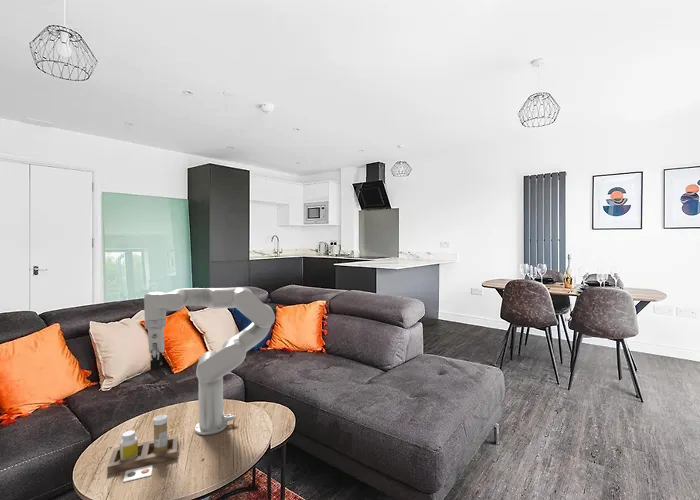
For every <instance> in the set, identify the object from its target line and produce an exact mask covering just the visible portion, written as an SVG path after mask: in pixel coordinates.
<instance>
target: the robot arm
mask: <svg viewBox="0 0 700 500" xmlns="http://www.w3.org/2000/svg"><path fill="white" fill-rule="evenodd" d="M143 297H144V298H143V302H144V303H143V304H144V305H143V306H144V312H143V313H144V329H146V330H148V331H147V333H148V334H147V339H148V340H147V341H148V352H149V355H150V361H149V363H150V364H149V365H150V371H159V370H160V369H161V363H162V362H163V360H162V359H163V356H162V354H164V351H165V329H164V328H165V327H167V311H169V312H170V311H173V312H174V311H180V310H181V309H183V308H184V307H189V306H190V307H191V306H194V307H195V306H198V307H199V306H200V307H206V308H209V309H234V308H236V310H237V311H239V312H240V313H241V314H242V315H243V316H244V317H245V318H247V319H248V320H250V321H251V322H250V324H249V325H248V326H247V327H245V328H243V330H241V331H239V332H238V333H236V334H235V335H233V336H232V337H230V338H228V339H227V340H225V341H224V342H223V344H222V347H221V349H219V350H218V351H214V350H209V351H205V352H204V353H202V355H201V356H200V357H199V359H198V362H197V366H196V372H195V375H196V377H197V378H196V379H198V423H197V424H196V425H195V427H194V430H195V433H196V434H198V435H201V436H202V435H203V436H210V435H211V436H212V435H215V434H218V433H220V432H222V431H224V430H225V429H226V428H227V427H228V422H229V421H230V422H231V421H235V420H236V415H235V414H234V415H233V414H232V413H228V414H225V412H224V376H226V375H228V374H229V373H231V372H232V371H233V370H234V369H236V368H237V367H239V366H240V365H241V364H243V362H244V360H245V358H246V355H247V352H248V351H250V350H251V349H252V348H254V347H255V346H257V345H258V344H259V343H260V342H262V341H263V340H264V339H265V338H266V337H267V336H268V334H269V332H270V330H271V327H272V326H273V324H274V323H275V320H276V314H275V312H274V309H272V307H271V306H270V304H267V303H264V302H262V301H261V300H260V299H259V298H258V297H257V296H256V295H255V294H254V293H253V291H252V290H251V289H250V288H248V287H244V286H243V287H239V286H238V287H210V288H209V287H207V288H205V287H203V288H199V287H195V288H194V287H193V288H192V287H191V288H177V289H174V290H172V291H170V292H164V291H163V292H162V291H151V292H147V293H145V294H144V296H143Z"/></svg>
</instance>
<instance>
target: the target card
mask: <svg viewBox="0 0 700 500" xmlns="http://www.w3.org/2000/svg"><path fill="white" fill-rule="evenodd" d="M153 466H154V464H151V465H146V466H142V467H138V468H133V469H129V470H125V473H124V476H123V477H124V478H123V481H122V483H127V482H131V481H134V480H139V479H143V478H147V477H151V476H152V473H153Z"/></svg>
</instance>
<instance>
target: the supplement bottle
mask: <svg viewBox="0 0 700 500" xmlns="http://www.w3.org/2000/svg"><path fill="white" fill-rule="evenodd" d="M138 442H139V441H138V437H137V436H136V431H135V430H131V429H130V430H128V431H127V430H126V431H125V432H123V433H122V435H121V441H120V442H119V447H120V457H119V461H123V460H128V459H132V458H137V457H139V453H138Z"/></svg>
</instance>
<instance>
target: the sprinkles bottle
mask: <svg viewBox="0 0 700 500" xmlns="http://www.w3.org/2000/svg"><path fill="white" fill-rule="evenodd" d="M152 419H153V420H152V421H153V423H152V425H153V440H154V452H153V454H155V453H160V452H165V451H169V450H168V447H167V437H168V415H167V414H160V415H156V416H155V417H154V418H152Z"/></svg>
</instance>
